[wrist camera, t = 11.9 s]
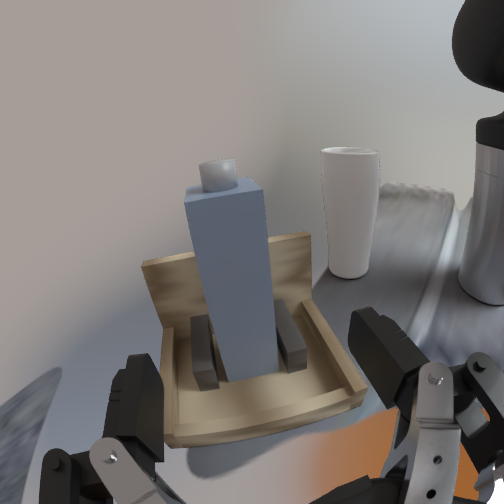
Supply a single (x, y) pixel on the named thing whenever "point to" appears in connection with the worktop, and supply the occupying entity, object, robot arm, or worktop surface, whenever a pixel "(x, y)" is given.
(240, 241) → the blue square bottle
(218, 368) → the box
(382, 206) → the worktop surface
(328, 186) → the drinking glass
